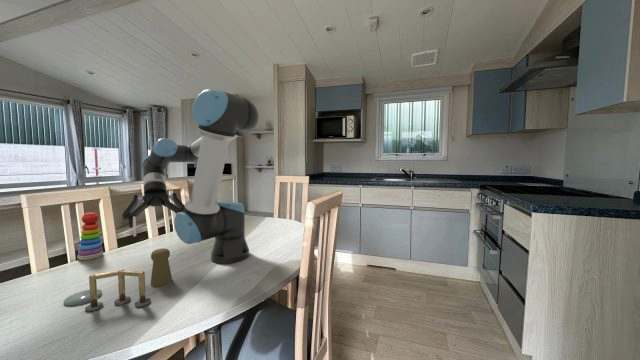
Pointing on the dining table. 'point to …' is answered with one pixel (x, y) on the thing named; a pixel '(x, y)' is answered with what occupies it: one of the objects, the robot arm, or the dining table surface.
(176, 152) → the robot arm
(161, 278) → the cork
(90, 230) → the stacking toy
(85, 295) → the coaster
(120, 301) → the rail
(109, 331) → the dining table surface
